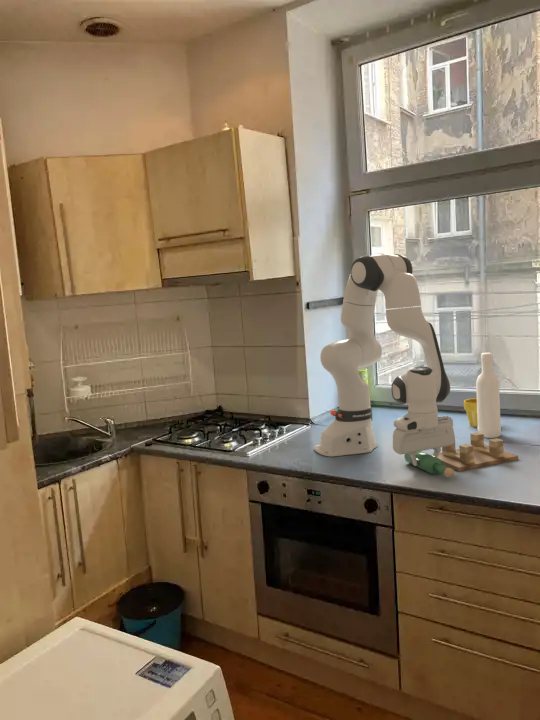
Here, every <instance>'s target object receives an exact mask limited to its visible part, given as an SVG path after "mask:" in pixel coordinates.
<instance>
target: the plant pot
mask: <svg viewBox="0 0 540 720" xmlns="http://www.w3.org/2000/svg"><path fill="white" fill-rule="evenodd" d="M463 409H464V411H465V413H466V417H467V419H468V422H469V423H468V424H469V426H470V427H473V428H478V419H477V397H476V398H475V397H474V398H467V399H464V400H463Z"/></svg>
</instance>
